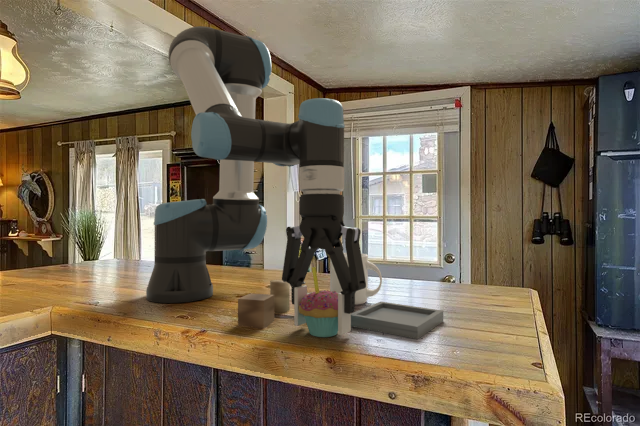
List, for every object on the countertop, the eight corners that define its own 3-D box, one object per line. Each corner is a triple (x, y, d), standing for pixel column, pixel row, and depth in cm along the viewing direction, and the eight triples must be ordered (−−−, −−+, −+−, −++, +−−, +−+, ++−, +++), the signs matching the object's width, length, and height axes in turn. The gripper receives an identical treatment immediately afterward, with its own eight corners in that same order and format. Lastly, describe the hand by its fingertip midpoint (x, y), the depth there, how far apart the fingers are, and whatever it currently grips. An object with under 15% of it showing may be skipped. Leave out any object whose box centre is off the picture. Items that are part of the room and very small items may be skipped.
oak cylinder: (266, 310, 83) (266, 281, 82) (278, 307, 86) (279, 279, 86) (280, 313, 80) (281, 283, 80) (293, 309, 84) (293, 281, 83)
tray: (348, 325, 72) (348, 314, 72) (380, 311, 82) (380, 301, 82) (417, 339, 64) (417, 326, 64) (443, 321, 75) (443, 310, 75)
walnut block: (237, 326, 71) (237, 298, 71) (249, 319, 76) (249, 293, 76) (263, 328, 70) (263, 300, 70) (274, 321, 75) (274, 294, 75)
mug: (376, 308, 85) (377, 258, 85) (324, 303, 89) (324, 255, 89) (386, 300, 93) (386, 254, 93) (337, 296, 97) (337, 252, 97)
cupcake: (309, 343, 62) (309, 266, 62) (291, 328, 70) (291, 260, 70) (357, 337, 65) (358, 263, 65) (335, 323, 73) (335, 258, 73)
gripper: (260, 194, 70) (260, 323, 70) (366, 190, 58) (366, 346, 58) (287, 195, 76) (287, 314, 76) (388, 192, 64) (388, 333, 64)
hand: (321, 327), depth 67 cm, fingers closed on cupcake, 8 cm apart
